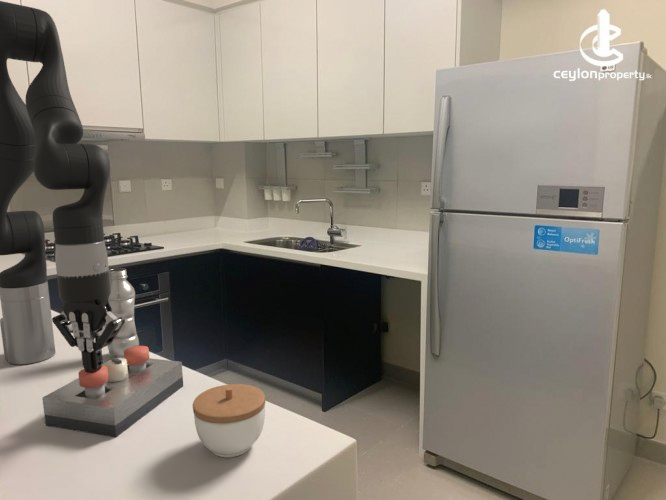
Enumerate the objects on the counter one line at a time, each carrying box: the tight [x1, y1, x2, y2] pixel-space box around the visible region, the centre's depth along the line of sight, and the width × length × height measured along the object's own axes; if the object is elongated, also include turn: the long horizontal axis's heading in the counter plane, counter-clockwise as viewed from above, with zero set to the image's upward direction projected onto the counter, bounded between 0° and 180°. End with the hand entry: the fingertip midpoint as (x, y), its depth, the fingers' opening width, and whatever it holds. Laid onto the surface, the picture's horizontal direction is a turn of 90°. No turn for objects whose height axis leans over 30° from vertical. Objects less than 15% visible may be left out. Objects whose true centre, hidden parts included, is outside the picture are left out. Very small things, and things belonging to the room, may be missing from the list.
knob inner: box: [124, 345, 150, 372], centre depth 93 cm, size 4×4×6 cm
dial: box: [104, 357, 128, 382], centre depth 87 cm, size 4×4×4 cm
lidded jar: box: [192, 383, 266, 458], centre depth 74 cm, size 11×11×9 cm
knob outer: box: [77, 364, 109, 399], centre depth 82 cm, size 4×4×6 cm
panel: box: [42, 355, 184, 438], centre depth 88 cm, size 14×19×5 cm
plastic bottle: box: [107, 268, 140, 358], centre depth 110 cm, size 6×7×20 cm
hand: (93, 370), depth 82 cm, fingers closed
